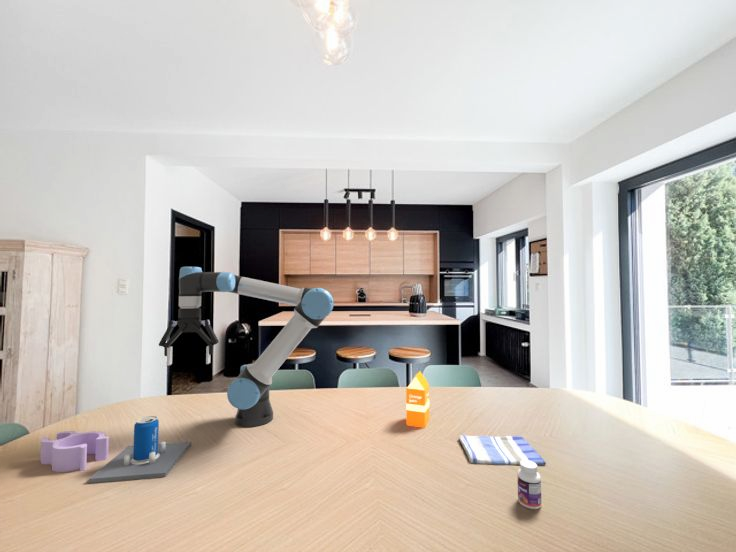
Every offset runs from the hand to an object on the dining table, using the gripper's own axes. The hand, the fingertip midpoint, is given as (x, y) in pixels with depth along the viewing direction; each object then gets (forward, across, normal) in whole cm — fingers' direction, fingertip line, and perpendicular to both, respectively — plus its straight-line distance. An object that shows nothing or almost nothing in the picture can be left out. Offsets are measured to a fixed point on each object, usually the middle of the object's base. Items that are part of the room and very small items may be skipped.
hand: (189, 364), depth 124 cm
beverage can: (+26, +6, +18) cm, 32 cm away
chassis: (+27, +6, +18) cm, 33 cm away
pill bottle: (+27, -100, +57) cm, 118 cm away
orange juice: (+27, -89, +3) cm, 93 cm away
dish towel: (+28, -108, +31) cm, 115 cm away
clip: (+27, +30, +12) cm, 42 cm away
